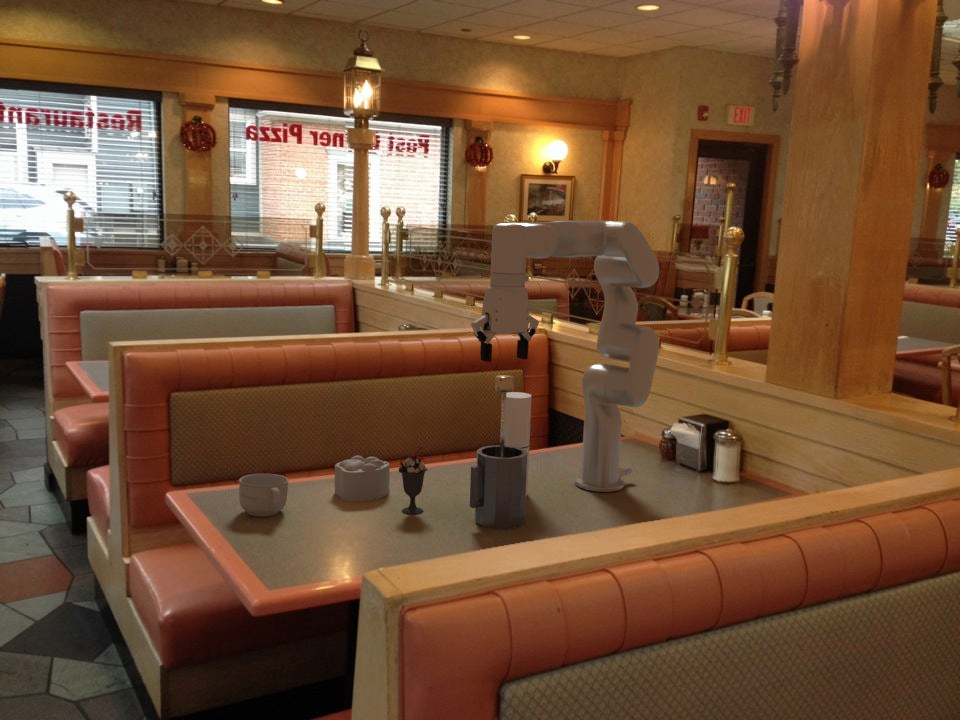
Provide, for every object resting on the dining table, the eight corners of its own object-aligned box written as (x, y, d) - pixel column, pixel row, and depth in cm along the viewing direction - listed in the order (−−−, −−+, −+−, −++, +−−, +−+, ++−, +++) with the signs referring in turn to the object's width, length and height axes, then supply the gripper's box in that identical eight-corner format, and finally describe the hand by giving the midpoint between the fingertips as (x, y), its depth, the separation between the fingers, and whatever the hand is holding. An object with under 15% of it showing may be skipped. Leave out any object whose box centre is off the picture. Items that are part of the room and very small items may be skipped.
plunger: (505, 464, 200) (508, 372, 197) (525, 472, 194) (528, 378, 190) (477, 468, 196) (480, 375, 192) (497, 477, 190) (500, 381, 186)
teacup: (236, 507, 200) (235, 473, 199) (283, 502, 204) (283, 469, 203) (245, 527, 188) (244, 492, 186) (295, 522, 192) (295, 487, 191)
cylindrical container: (525, 499, 212) (529, 399, 208) (496, 496, 213) (499, 396, 209) (529, 490, 219) (533, 393, 215) (501, 488, 220) (504, 391, 216)
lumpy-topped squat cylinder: (330, 491, 214) (330, 456, 213) (379, 484, 221) (379, 451, 219) (346, 503, 205) (347, 468, 204) (397, 496, 212) (397, 461, 210)
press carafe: (505, 509, 204) (507, 443, 202) (533, 523, 195) (536, 454, 193) (457, 518, 197) (459, 450, 194) (484, 534, 188) (487, 462, 185)
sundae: (431, 508, 203) (432, 446, 201) (420, 517, 197) (421, 453, 195) (405, 504, 205) (406, 443, 203) (393, 513, 199) (394, 450, 197)
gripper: (529, 280, 196) (525, 355, 198) (464, 280, 186) (461, 359, 189) (550, 282, 190) (546, 360, 192) (484, 283, 180) (481, 365, 183)
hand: (504, 359), depth 191 cm, fingers open, 9 cm apart
